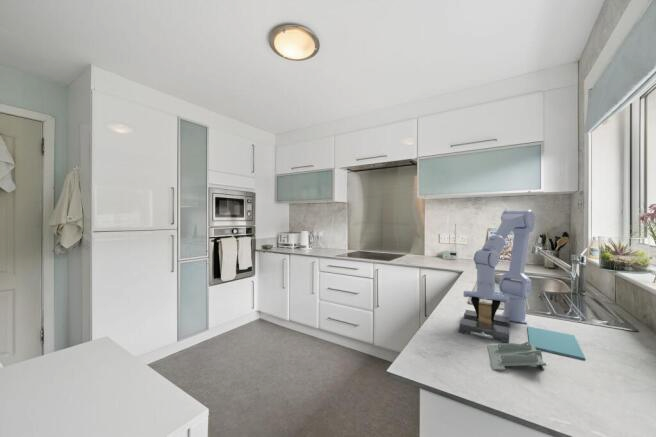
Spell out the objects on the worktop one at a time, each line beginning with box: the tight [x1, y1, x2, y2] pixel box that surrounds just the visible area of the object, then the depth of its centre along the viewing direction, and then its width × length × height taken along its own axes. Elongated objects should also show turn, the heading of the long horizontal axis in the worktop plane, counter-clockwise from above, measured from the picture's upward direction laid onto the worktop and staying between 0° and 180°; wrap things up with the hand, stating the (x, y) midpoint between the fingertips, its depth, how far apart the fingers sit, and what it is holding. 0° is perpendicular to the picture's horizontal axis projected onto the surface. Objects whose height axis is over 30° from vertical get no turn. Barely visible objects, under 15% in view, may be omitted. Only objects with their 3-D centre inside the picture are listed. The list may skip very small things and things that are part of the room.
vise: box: [458, 309, 511, 344], centre depth 101 cm, size 22×15×3 cm
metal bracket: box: [486, 341, 547, 371], centre depth 78 cm, size 14×6×15 cm
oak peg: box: [479, 301, 492, 324], centre depth 101 cm, size 4×4×9 cm
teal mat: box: [527, 326, 586, 361], centre depth 90 cm, size 18×13×1 cm
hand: (485, 318), depth 101 cm, fingers closed on oak peg, 4 cm apart
